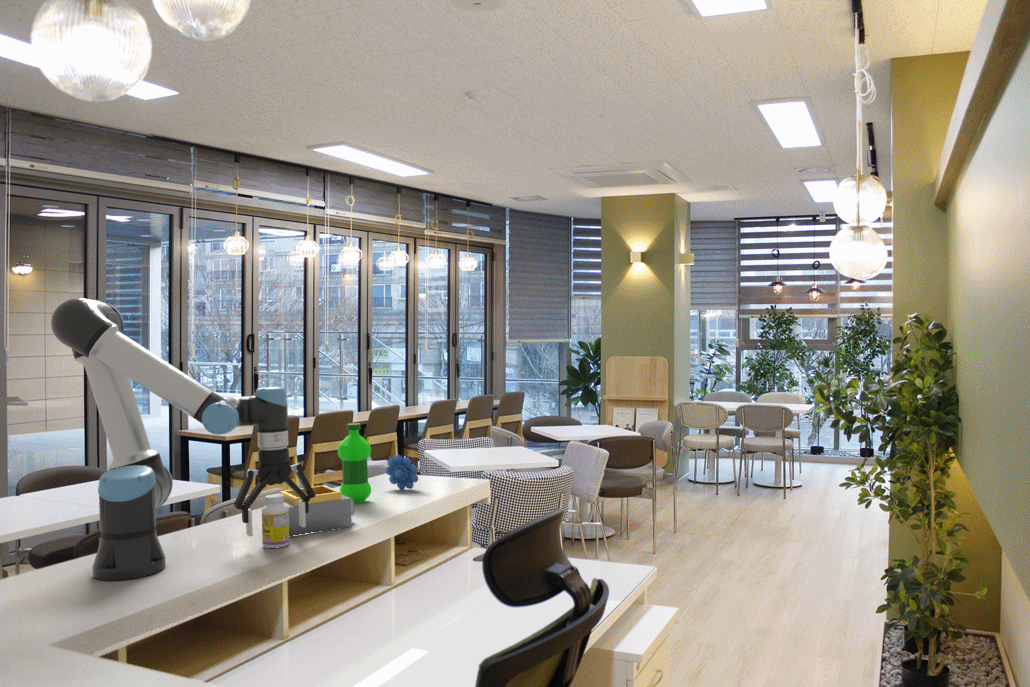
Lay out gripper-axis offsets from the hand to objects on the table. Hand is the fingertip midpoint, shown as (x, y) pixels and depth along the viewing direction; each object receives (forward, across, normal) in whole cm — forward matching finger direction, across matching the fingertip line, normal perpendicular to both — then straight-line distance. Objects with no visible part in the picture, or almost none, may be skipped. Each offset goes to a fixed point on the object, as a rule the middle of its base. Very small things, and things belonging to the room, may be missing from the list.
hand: (276, 530), depth 202 cm
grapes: (+4, +57, +44) cm, 72 cm away
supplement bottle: (+4, 0, 0) cm, 4 cm away
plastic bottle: (+4, +37, +36) cm, 52 cm away
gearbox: (+4, +15, +13) cm, 20 cm away
